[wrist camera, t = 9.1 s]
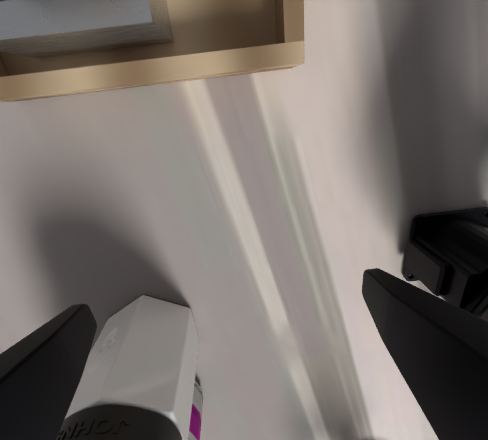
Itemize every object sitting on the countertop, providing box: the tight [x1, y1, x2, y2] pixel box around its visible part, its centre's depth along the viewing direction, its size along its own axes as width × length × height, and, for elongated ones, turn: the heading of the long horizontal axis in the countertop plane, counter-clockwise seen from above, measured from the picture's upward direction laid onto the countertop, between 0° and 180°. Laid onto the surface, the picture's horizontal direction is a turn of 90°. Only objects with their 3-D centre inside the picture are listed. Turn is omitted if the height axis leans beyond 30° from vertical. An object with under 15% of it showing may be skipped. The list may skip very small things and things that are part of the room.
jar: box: [56, 295, 199, 440], centre depth 21 cm, size 9×8×12 cm
